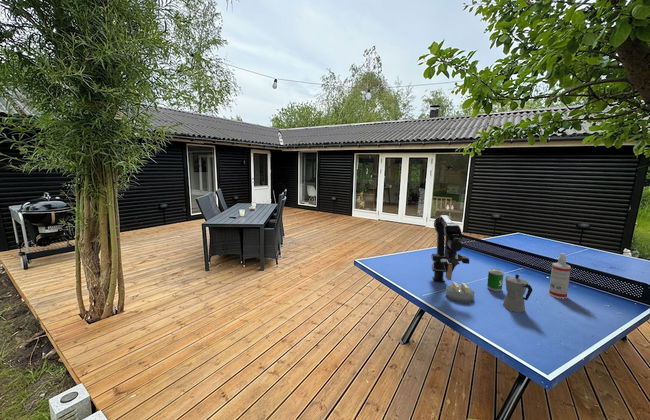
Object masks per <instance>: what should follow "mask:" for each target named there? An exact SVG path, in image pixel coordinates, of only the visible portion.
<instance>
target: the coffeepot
mask: <svg viewBox="0 0 650 420" xmlns="http://www.w3.org/2000/svg"><path fill="white" fill-rule="evenodd" d="M505 289H506V295H505V296H504V301H503V303H502V305H503V308H505V309H506V310H509V311H511V312H515V313H523V312H525V311H526V305H525V301H528V300H529V298H530V297H531V294H532V293H533V288H532V286H531V285H530V284H529V282H528V281H527V280H526V279H524V278H521V277H520V275H519V274H515V277H514V276H511V275H507V276H506V275H505ZM526 291H527V292H526ZM524 295H525V297H524Z"/></svg>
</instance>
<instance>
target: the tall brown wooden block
mask: <svg viewBox="0 0 650 420" xmlns="http://www.w3.org/2000/svg"><path fill="white" fill-rule="evenodd" d="M452 275H453V272H452V263H449V262H448V261H447V273H446V272H445V276H444V277H445V278H446V280H447V281H452V277H453V276H452Z"/></svg>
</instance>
